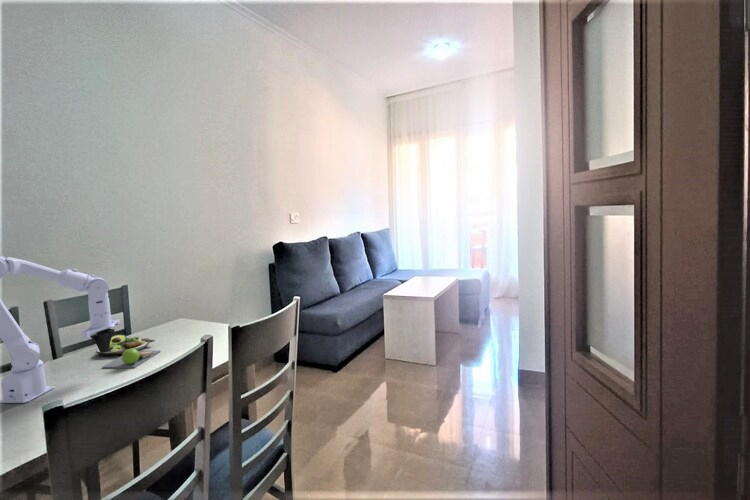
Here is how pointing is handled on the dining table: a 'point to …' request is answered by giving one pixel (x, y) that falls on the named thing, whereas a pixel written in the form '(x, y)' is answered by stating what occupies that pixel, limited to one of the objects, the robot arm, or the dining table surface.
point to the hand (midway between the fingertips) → (104, 351)
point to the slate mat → (120, 364)
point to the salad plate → (125, 344)
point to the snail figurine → (133, 355)
